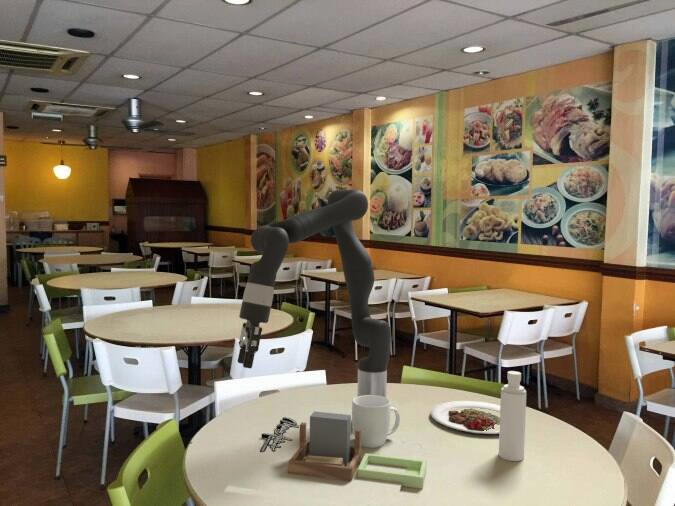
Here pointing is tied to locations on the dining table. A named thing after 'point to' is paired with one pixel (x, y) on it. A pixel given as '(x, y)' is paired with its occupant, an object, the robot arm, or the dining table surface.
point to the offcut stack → (325, 460)
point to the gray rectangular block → (330, 435)
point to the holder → (410, 478)
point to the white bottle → (512, 419)
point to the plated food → (467, 416)
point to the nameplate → (278, 434)
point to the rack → (325, 470)
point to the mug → (373, 419)
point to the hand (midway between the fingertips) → (244, 365)
